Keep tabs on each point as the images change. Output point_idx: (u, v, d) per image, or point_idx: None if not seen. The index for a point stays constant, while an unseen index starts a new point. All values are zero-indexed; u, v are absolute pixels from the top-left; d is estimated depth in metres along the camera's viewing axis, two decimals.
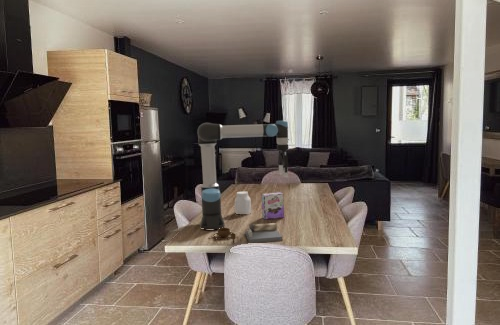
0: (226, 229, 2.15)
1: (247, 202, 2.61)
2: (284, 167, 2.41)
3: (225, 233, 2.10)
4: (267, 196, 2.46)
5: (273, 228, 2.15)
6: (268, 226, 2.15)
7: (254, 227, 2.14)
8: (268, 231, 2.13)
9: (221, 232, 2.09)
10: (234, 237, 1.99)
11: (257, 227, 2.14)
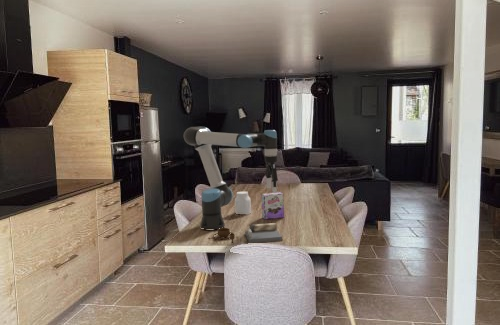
0: (226, 229, 2.15)
1: (247, 202, 2.61)
2: (273, 181, 2.21)
3: (225, 233, 2.09)
4: (267, 196, 2.46)
5: (273, 228, 2.15)
6: (268, 226, 2.15)
7: (254, 227, 2.14)
8: (268, 231, 2.13)
9: (221, 232, 2.09)
10: (233, 237, 1.98)
11: (257, 227, 2.14)
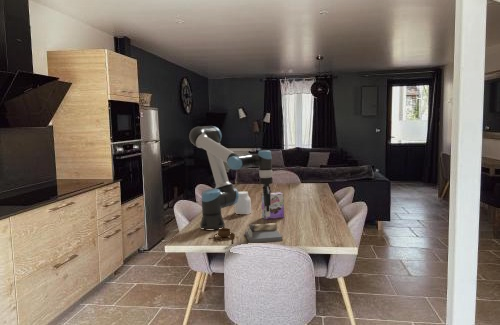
0: (227, 229, 2.14)
1: (247, 202, 2.61)
2: (265, 206, 2.20)
3: (225, 233, 2.08)
4: None
5: (273, 228, 2.15)
6: (268, 226, 2.15)
7: (254, 227, 2.14)
8: (268, 231, 2.13)
9: (221, 232, 2.08)
10: (233, 238, 1.97)
11: (257, 227, 2.14)
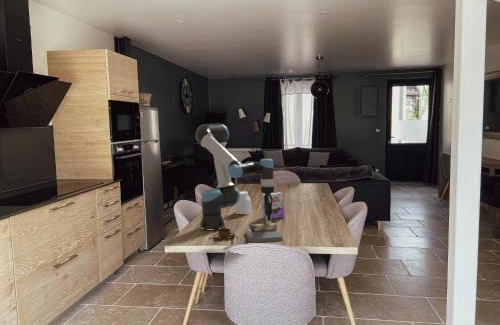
0: (227, 230, 2.14)
1: (247, 202, 2.61)
2: (267, 215, 2.17)
3: (225, 234, 2.08)
4: None
5: (273, 228, 2.15)
6: (268, 226, 2.15)
7: (254, 227, 2.14)
8: (268, 231, 2.13)
9: (221, 233, 2.08)
10: (232, 238, 1.96)
11: (257, 227, 2.14)
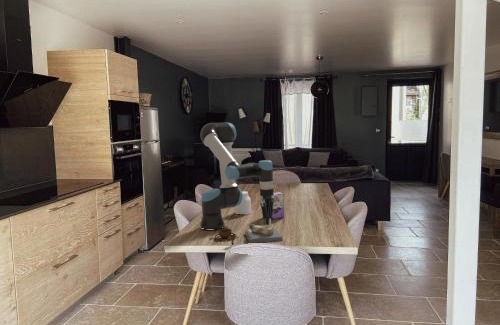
0: (228, 230, 2.13)
1: (247, 202, 2.61)
2: (265, 218, 2.09)
3: (226, 234, 2.07)
4: None
5: (267, 233, 2.06)
6: (263, 230, 2.08)
7: (251, 227, 2.13)
8: None
9: (222, 233, 2.07)
10: (233, 238, 1.96)
11: (254, 228, 2.12)
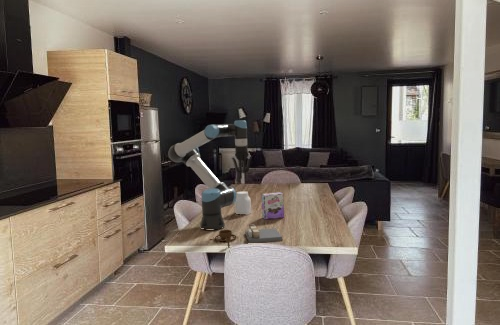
0: (229, 231, 2.11)
1: (247, 202, 2.61)
2: None
3: (225, 235, 2.05)
4: (267, 196, 2.46)
5: (253, 235, 2.03)
6: (252, 231, 2.06)
7: (249, 227, 2.14)
8: (268, 231, 2.13)
9: (221, 234, 2.05)
10: (229, 240, 1.93)
11: (250, 228, 2.12)
